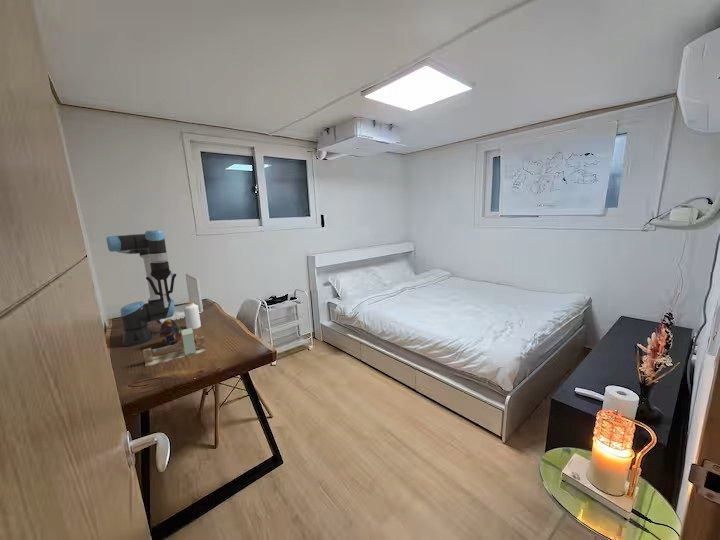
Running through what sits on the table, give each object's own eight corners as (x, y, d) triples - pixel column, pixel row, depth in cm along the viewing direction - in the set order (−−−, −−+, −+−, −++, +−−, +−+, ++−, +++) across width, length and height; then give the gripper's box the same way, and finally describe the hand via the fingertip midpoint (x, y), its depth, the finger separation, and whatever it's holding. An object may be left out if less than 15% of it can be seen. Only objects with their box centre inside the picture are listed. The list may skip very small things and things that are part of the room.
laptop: (153, 313, 230) (147, 278, 225) (192, 304, 248) (187, 273, 243) (160, 323, 205) (154, 285, 200) (203, 313, 224) (198, 278, 219)
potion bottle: (183, 329, 191) (179, 303, 187) (195, 325, 198) (191, 299, 195) (192, 331, 187) (188, 304, 184) (203, 326, 195) (200, 300, 192)
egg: (185, 343, 169) (181, 318, 166) (163, 349, 161) (159, 324, 159) (180, 338, 176) (176, 314, 174) (159, 344, 169) (155, 319, 166)
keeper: (185, 355, 151) (182, 335, 149) (184, 348, 159) (181, 330, 157) (196, 352, 154) (193, 332, 152) (194, 346, 161) (191, 327, 159)
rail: (145, 366, 142) (142, 351, 141) (146, 359, 150) (143, 344, 148) (206, 351, 157) (204, 337, 155) (204, 345, 164) (202, 332, 163)
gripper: (142, 264, 137) (150, 311, 141) (174, 261, 144) (181, 306, 148) (143, 262, 143) (151, 307, 148) (174, 259, 150) (181, 302, 155)
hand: (166, 306), depth 148 cm, fingers closed
